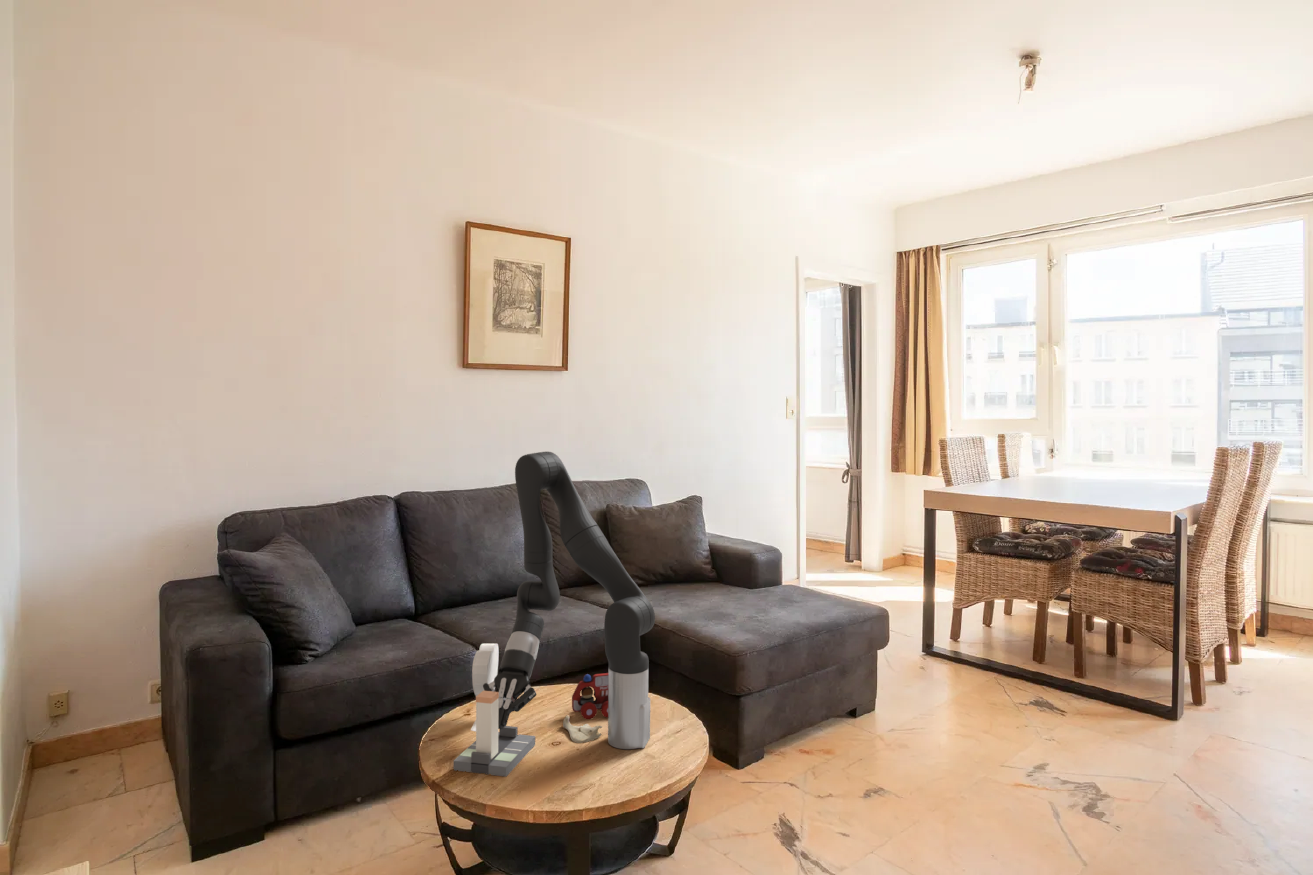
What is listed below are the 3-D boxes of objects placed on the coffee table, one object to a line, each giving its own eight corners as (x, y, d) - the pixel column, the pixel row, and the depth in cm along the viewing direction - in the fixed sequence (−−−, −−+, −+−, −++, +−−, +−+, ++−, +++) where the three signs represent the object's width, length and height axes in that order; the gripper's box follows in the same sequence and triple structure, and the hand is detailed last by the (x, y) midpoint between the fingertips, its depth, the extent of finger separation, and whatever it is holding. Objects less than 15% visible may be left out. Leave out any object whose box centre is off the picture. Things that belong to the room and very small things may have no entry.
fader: (498, 752, 166) (498, 691, 166) (491, 759, 163) (491, 697, 163) (483, 750, 167) (483, 690, 167) (475, 757, 164) (475, 696, 163)
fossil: (586, 723, 189) (586, 709, 189) (603, 739, 180) (603, 725, 180) (559, 728, 186) (559, 714, 186) (575, 745, 177) (575, 730, 176)
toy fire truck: (570, 710, 196) (570, 670, 196) (617, 706, 199) (618, 667, 199) (573, 721, 190) (574, 679, 189) (623, 717, 193) (623, 675, 192)
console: (535, 744, 176) (535, 727, 176) (506, 776, 160) (506, 757, 160) (486, 739, 179) (486, 722, 178) (453, 769, 163) (453, 751, 163)
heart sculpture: (481, 708, 197) (481, 638, 197) (501, 708, 197) (501, 638, 197) (468, 733, 182) (469, 657, 181) (490, 733, 182) (490, 657, 181)
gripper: (489, 645, 180) (465, 717, 169) (542, 650, 178) (521, 723, 166) (498, 661, 186) (475, 731, 174) (550, 665, 183) (530, 737, 171)
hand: (498, 727), depth 170 cm, fingers closed
